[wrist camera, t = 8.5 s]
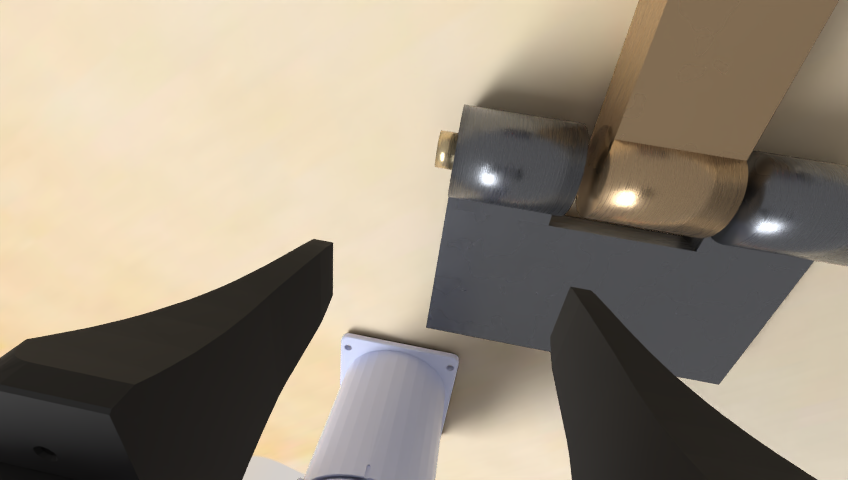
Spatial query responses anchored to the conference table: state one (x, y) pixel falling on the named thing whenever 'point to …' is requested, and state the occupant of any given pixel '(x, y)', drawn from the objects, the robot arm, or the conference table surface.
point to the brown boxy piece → (692, 109)
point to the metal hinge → (619, 247)
